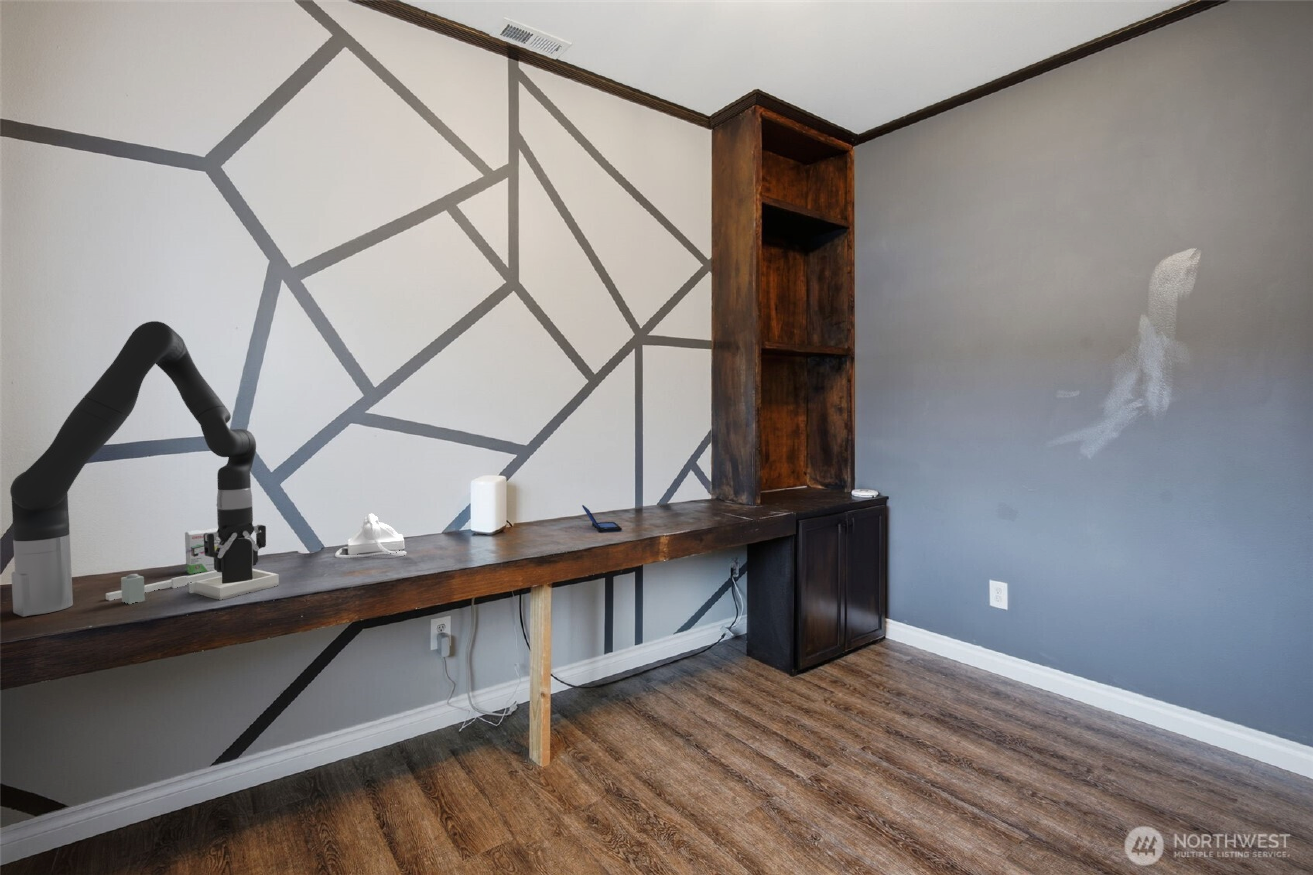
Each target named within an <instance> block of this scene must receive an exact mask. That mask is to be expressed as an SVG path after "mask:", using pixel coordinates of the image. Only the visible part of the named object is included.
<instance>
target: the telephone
mask: <svg viewBox="0 0 1313 875" xmlns="http://www.w3.org/2000/svg"><path fill="white" fill-rule="evenodd" d="M405 547H406V546H405V539H404V536H403V534H402V533H398V532H397V531H396V530H395V529H394V528H393V527H392V526H390V525H388V524H386V523H384V522H380V521H379V517H378V516H376V515H375V514H374V513H368V515H367V517H364V520H363V524H362V526H361V528H360V529H359V530H358V531H357V532H356V533H355V534H354V535H353V536H352V537H350V538H348V541H347V546H344V547H342V548H339V549H338V550H337V551H336V552H335V554H334V556H335V557H336V558H338V559H353V558H357V559H358V558H365V557H374V556H380V555H384V554H385V555H386V554H387V555H388V554H389V555H392V556H397V557H398V556H399V557H403V556H404V555H405V556H407V551H406V550H404V549H405ZM343 549H347V555H346V554H341V553H342V552H343ZM399 550H400V551H399ZM396 552H397V553H396ZM390 553H391V554H390ZM357 554H358V555H357Z"/></svg>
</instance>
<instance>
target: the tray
mask: <svg viewBox="0 0 1313 875" xmlns="http://www.w3.org/2000/svg"><path fill="white" fill-rule="evenodd" d="M279 577H280V575H279V574H278V573H275V572H269V571H265V570H262V569H256V568H253V579H252V580H248V581H242V582H235V583H225V584H223V583H222V576H219V577H214V578H210V579H205V580H201V581H196V582H195V592H194V593H195V594H197V595H200V596H201V595H202V596H203V595H204V597H208V598H210V599H211V598H212V599H214V600H215V599H216V600H218V599H219V601H223V600H226V599H227V600H228V599H232V598H235V597H239V596H243V595H247V594H250V593H249V592H251V593H255V592H259V591H262V590H261V589H263V590H266V589H269V588H273V587H274V586H275V587H277V585H279V586H280V579H279ZM258 590H259V591H258ZM246 593H247V594H246ZM238 595H239V596H238ZM222 599H223V600H222Z"/></svg>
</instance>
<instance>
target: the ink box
mask: <svg viewBox="0 0 1313 875" xmlns="http://www.w3.org/2000/svg"><path fill="white" fill-rule="evenodd" d="M217 530H218V527H215V528H206V529H195V530H188V531H185V532H184V543H185V544H184V546H185V564H186V565H185V568H186V569H185V570H186V573H187V574H188V575H195V574H200V572H201V573H205V572H210V571H214V570H215V569H214V558H213V557H208V556H205V553H204V536H203V535H204V534H205V533H215V532H217ZM220 540H221V539H220V538H219V537H218V536H217V537H216V540H215V541H214V546H215V550H216V548H217V545H218V543H219V541H220ZM194 573H195V574H194Z"/></svg>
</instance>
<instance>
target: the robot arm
mask: <svg viewBox="0 0 1313 875" xmlns="http://www.w3.org/2000/svg"><path fill="white" fill-rule="evenodd" d="M155 365H156V366H157V367H158V368H160V369H161V370H162V371H163V372H164V373H165V374H166V375H167V376H168V378H170V380H171V382H173V384H174V385H175V387H176V390H177V391H178V393H179V395H180V397H181V399H182V401H183V402H184V404H185V406H186V408H187V410H189V412H190V413H191V414H192V416H193V417H194V419H195V420H196V421H197V423H198V424H199V425H200V428H201V432H202V435H203V437H204V439H205V443H206V446H207V447H208V448H209V450H210V451H211V452H212V454H215V455H216V456H218V457H221V458H228V459H227V464H225V465H224V466H222V467H220V468H219V469H218V471H217V478H216V479H217V496H216V509H217V510H216V511H217V512H216V514H217V515H216V517H217V528H218V530H217V532H215V533H205V534H204V535H203V536H204V553H205V556H208V557H213V558H214V569H215V570H216V571H217V572H224V558H222V557H223V555H224V553H225V552H226V550H228V549H229V547H230V545H231V544H232V542H233V540H235V539H238V538H249V539H250V540H251V541H252V545H253V566H257V563H259V562H258V561H259V550H260V549H263V548H265V547H266V546H267V527H266V525H264V524H257V525H254V524H253V521H254V519H253V518H254V516H253V515H254V514H253V493H252V487H251V486H252V484H251V483H252V482H251V471H252V467H253V463H254V460H255V459H254V458H255V455H256V452H257V451H256V450H257V442H256V438H255V437H254V435H253V433H252V432H250V431H249V430H247V429H243V428H239V429H237V428H236V429H230V428H229V427H228V425H227V423H229V422H230V420H231V417H232V416H231V413H230V412H229V409H228V408H227V406H226V405H225V404H224V403H223V401H222V400H221V398H220V397H219V396H218V394H217V393H216V392H215V391H214V390H213V389H212V386H210V384H209V383H208V382H207V381H206V380H205V378H204V377H203V376H202V374H201V372H200V371H199V369H198V368H197V366H196V364H195V362H194V360H193V359H192V357H191V354H190V352H189V350H188V347H187V346H186V343H185V341H184V339H183V337H181V335H179V334H178V333H177V332H176V331H175V330H174V329H173V328H172V327H171V326H169V325H168V324H167V323H164V322H162V321H157V320H156V321H155V320H153V321H146V322H145V323H142V324H140V325H139V326H138V327H137V328H135V329H134V330H133V331H132V333H131V334H130V336H129V337H128V339H127V340H126V341H125V343H124V345H123V346H122V348H121V349H120V351H119V353H118V354H117V356H116V357H115V358H114V360H113V362H112V363H111V364H110V365H109V367H108V368H106V370H105V371H104V373H103V374H102V375H101V376H100V377H99V379H98V380H97V381H96V382H95V384H94V385H93V386H92V387H91V388H90V390H88V392H87V393H86V394H85V395H84V396H83V397H82V399H80V401H79V402H78V403H77V405H76V406H75V407H74V408H73V409H72V411H71V412H70V414H69V415H68V416H67V418H66V419H65V421H64V422H63V424H62V425H61V427H60V429H59V430H58V432H57V434H56V436H55V437H54V439H53V441H52V443H51V444H50V446H48V448H47V449H46V450H45V451H44V452H43V454H42V455H41V456H40V457H38V459H37V460H36V461H34V462H33V463H32V465H30V467H28V468H27V469H26V470H25V471H23V472H22V473H20V474H18V476H16V477H15V479H14V480H13V481H12V483H11V485H10V489H9V490H10V491H9V494H10V497H11V512H12V514H11V515H12V541H13V542H12V543H13V560H14V571H12V572H11V576H10V577H11V589H12V591H11V593H12V596H11V597H12V611H13V612H12V613H14V614H15V615H18V616H20V617H23V618H24V617H27V616H28V617H29V616H35V615H45V614H48V613H49V614H50V613H54V612H58V611H63V610H66V609H68V608H70V607H72V606H74V603H73V599H74V595H73V581H72V580H73V578H72V558H71V557H72V555H71V533H70V516H69V499H68V498H69V495H68V492H69V490H70V488H72V487H71V486H72V485H73V484H74V482H75V480H76V479H77V478H78V476H79V474H80V472H81V471H82V469H83V468H84V467H85V465H86V464H87V462H88V461H89V460H90V459H91V458H92V457H93V456H94V455H95V454H96V453H97V452H98V451H99V450H100V449H101V448H102V447H103V446H104V445H106V443H107V442H108V441H109V440H110V439H111V438H112V437H113V436H114V435H115V433H117V431H118V430H119V429H120V428H121V426H122V425H123V423H125V421H126V420H127V419H128V417H129V416H130V415H131V413H132V411H133V410H134V408H135V406H136V404H137V400H138V397H139V393H140V390H141V387H142V384H143V381H144V379H145V378H146V376H147V374H148V373H149V372H150V370H151V369H152V368H153V367H154V366H155ZM253 533H255V539H256V540H254V539H253V537H252V534H253ZM217 536H218V537H219V538H220V539H221V540H220V541H219V543H218V545H217V548H216V550H215V546H214V541H215V540H216V537H217ZM222 542H225V544H224V545H221V543H222ZM220 548H221V549H220Z"/></svg>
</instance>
